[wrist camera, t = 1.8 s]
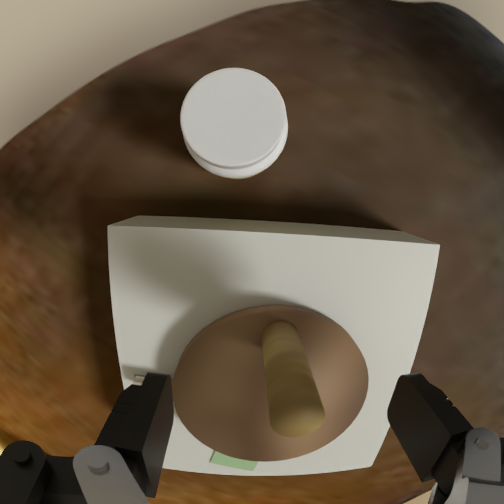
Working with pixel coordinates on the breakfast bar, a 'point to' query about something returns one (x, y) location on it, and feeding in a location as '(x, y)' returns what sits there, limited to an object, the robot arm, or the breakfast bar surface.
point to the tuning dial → (269, 383)
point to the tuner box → (269, 293)
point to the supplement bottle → (234, 123)
